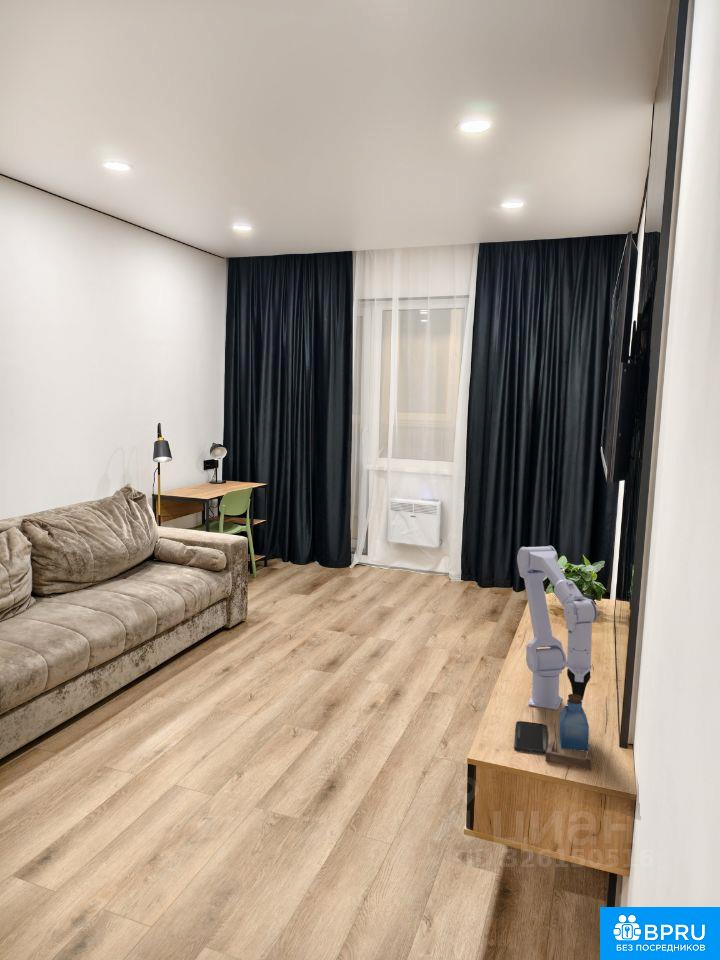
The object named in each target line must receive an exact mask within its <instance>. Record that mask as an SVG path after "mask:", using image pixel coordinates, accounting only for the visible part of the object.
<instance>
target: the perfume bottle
mask: <svg viewBox="0 0 720 960" xmlns="http://www.w3.org/2000/svg"><path fill="white" fill-rule="evenodd" d="M567 697H568V699H567V702H566V704H567V705H564V707H563V708H562V709H561V711H560V712H559V729H558V730H559V731H558V733H559V734H558V735H559V736H558V737H559V745H560V749H562V750H570V749H572V750H573V751H580V750H584V751H583V752H588V748H589V741H590V740H589V737H590V735H589V733H590V727H589V726H590V725H589V722H588V718H587V715H586V712H585V710H584V708H583V700H582V701H581V698H582V697H581V696H580V695H577V694H573V693H569V694H568V695H567ZM574 749H575V750H574Z"/></svg>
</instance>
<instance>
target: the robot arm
mask: <svg viewBox="0 0 720 960" xmlns="http://www.w3.org/2000/svg"><path fill="white" fill-rule="evenodd" d="M517 552H518V553H517V556H516V563H517V567H518V572H519V577H521V578H522V579H523V581H524V587H525V591H526V597H527V598H526V599H527V604H528V608H529V614H530V615H529V616H530V622H531V627H532V632H533V637H532V639H531V640H530V641H528V643H527V644H526V646H525V647H526V648H525V650H526V652H525V653H526V657H525V661H526V665H527V667H528V669H529V671H530V672H531V673H532V681H531V683H532V684H531V686H532V687H531V690H532V691H531V696H530V700H529V701H528V706H533V707H539V708H543V709H549V710H555V711H558V710H559V708H560V705H561V702H562V699H563V696H562V695H560V693H559V692H560V674H563V670H565V669H566V668H567V671H566V675H567V678H568V681H569V683H570V687H571V691H572V693H571V694H577V695H580V696H581V697H582V698H581V701H582V702H583V699H584V697H585V692H586V687H587V686H588V683H589V681H590V680H591V678H592V677H591V670H592V667H593V666H592V638H593V637H592V636H593V635H592V633H593V631H592V630H593V623H595V622H596V621H597V618H598V609H597V606H596V604H595V601H594V600H592V599H590V598H588V597H584V595H583V594H582V592H581V591H580V589H579V588H578V587H577V585H576V583H574V581H573V580H571V579H567V578H566V576H565V574H564V572H563V570H562V569H561V567H560V565H559V564H558V561H559V560H558V559H559V558H558V553H557V550H556V549H555V547H554V546H552V545H547V546H527V547H526V546H521V547H520V548H519V550H518V551H517ZM545 578H548V580H549V581H550V582H551V584H552V585H553V586H554V588H553V593H554V595H555V596H556V598H557V600H558V601H559V602H560V604H561V605H562V608H563V616H564V619H565V627H566V629H567V654H566V652H565V650H564V647H563V644H562V642H561V640H559V639H557V638H556V637H555V636H553V633H552V627H551V621H550V615H549V609H548V603H547V598H546V593H545V586H544V579H545Z"/></svg>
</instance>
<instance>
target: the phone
mask: <svg viewBox="0 0 720 960" xmlns="http://www.w3.org/2000/svg"><path fill="white" fill-rule="evenodd" d="M547 748H548V725H547V724H545V723H542V722H541V723H540V722H532V721H530V722H529V721H524V720H517V721H516V722H515V729H514V743H513V749H514V750H515V751H517V752H521V753H529V754H537V755H546V750H547Z"/></svg>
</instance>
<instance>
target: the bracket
mask: <svg viewBox="0 0 720 960" xmlns="http://www.w3.org/2000/svg"><path fill="white" fill-rule="evenodd" d="M555 743H556V739H553V738H550V740H549V742H548V744H547V750H546V754H545V759H544V760H545V761H546V762H549V763H550V762H551V763H556V764H559V765H560V764H561V765H566V766H569V767H574V766H576V768H579V769H584V768H585V770H589V771H592V762H593V758H594V747H593V746H589V745H588V751H587V753H586V757H583V756H578V755H577V756H576V755H571V754H566V753H561V752H556V751H555V747H556V744H555Z"/></svg>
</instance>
